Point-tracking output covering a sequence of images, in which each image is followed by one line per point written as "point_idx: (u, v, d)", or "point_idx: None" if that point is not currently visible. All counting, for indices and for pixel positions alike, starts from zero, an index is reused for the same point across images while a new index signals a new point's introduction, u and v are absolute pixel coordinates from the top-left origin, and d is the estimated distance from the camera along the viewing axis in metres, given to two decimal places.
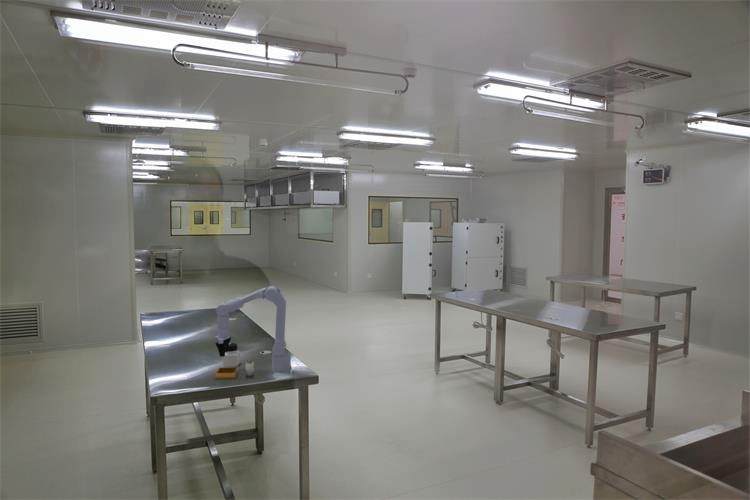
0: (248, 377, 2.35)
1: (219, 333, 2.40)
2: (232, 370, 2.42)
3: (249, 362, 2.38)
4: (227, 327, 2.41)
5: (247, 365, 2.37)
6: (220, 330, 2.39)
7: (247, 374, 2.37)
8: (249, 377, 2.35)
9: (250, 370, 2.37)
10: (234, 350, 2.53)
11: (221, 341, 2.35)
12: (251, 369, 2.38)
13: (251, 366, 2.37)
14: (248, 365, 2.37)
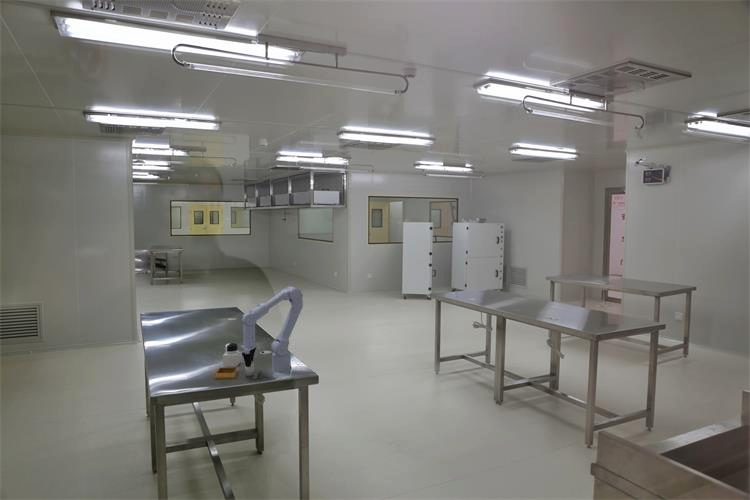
0: (248, 377, 2.35)
1: (245, 343, 2.35)
2: (232, 370, 2.42)
3: None
4: (254, 336, 2.38)
5: None
6: (246, 340, 2.35)
7: (247, 374, 2.37)
8: (249, 377, 2.35)
9: (250, 370, 2.37)
10: (234, 350, 2.53)
11: (248, 351, 2.31)
12: (251, 369, 2.38)
13: (251, 366, 2.37)
14: None
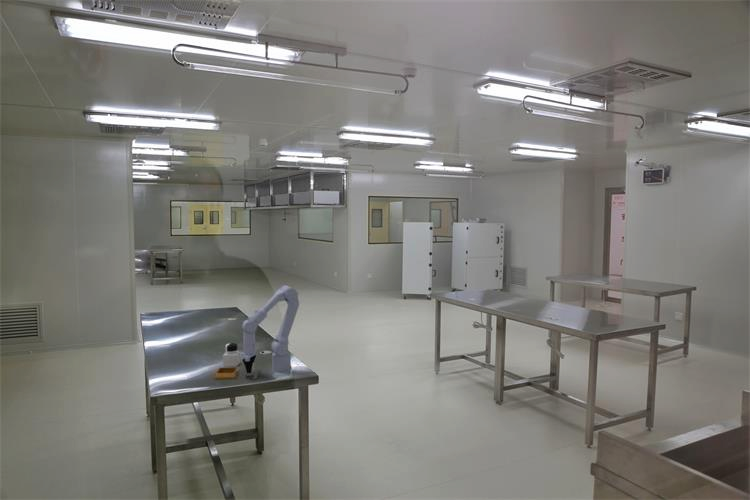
0: (248, 377, 2.35)
1: (245, 350, 2.36)
2: (232, 370, 2.42)
3: None
4: (254, 343, 2.38)
5: None
6: (246, 347, 2.35)
7: (247, 374, 2.37)
8: (249, 377, 2.35)
9: None
10: (234, 350, 2.53)
11: (248, 359, 2.31)
12: None
13: None
14: None
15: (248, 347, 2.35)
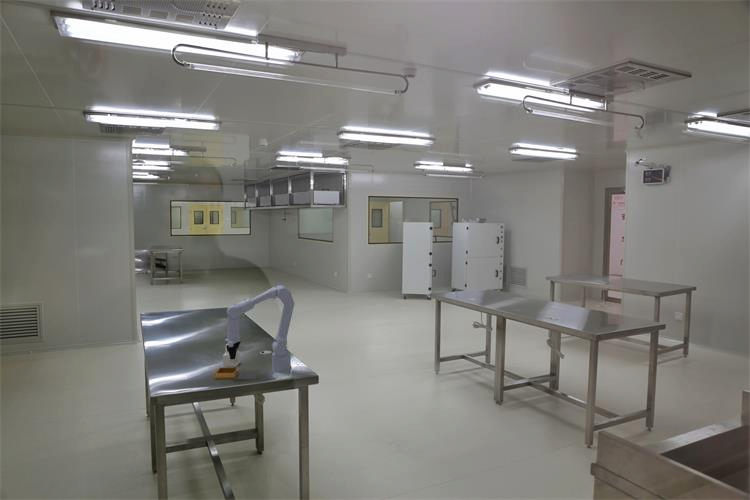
0: (248, 377, 2.35)
1: (229, 336, 2.34)
2: (232, 370, 2.42)
3: None
4: (238, 330, 2.36)
5: None
6: (230, 333, 2.34)
7: (231, 360, 2.36)
8: (249, 377, 2.35)
9: None
10: None
11: (231, 344, 2.30)
12: (236, 355, 2.36)
13: None
14: None
15: (232, 333, 2.34)
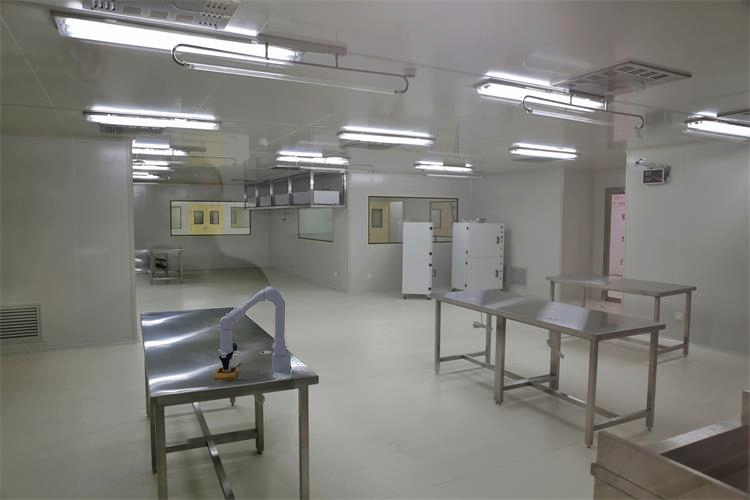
0: (248, 377, 2.35)
1: (222, 347, 2.34)
2: (232, 370, 2.42)
3: None
4: (231, 340, 2.36)
5: None
6: (223, 344, 2.34)
7: (224, 371, 2.36)
8: (249, 377, 2.35)
9: None
10: (234, 350, 2.53)
11: (224, 355, 2.30)
12: (229, 366, 2.36)
13: None
14: None
15: (225, 344, 2.34)
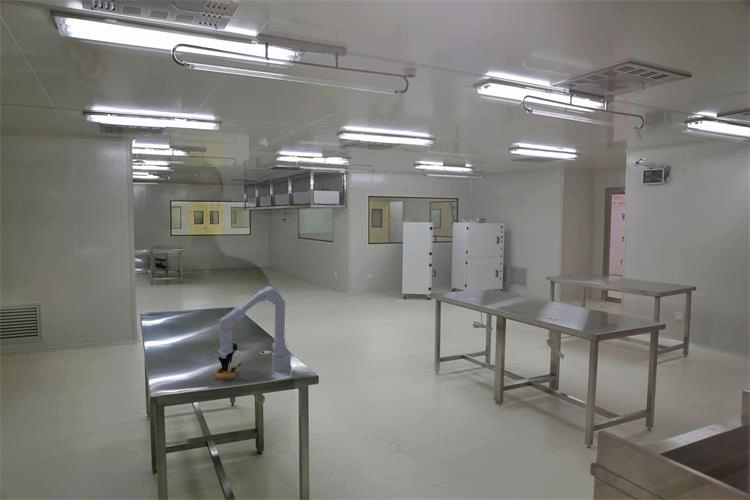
0: (248, 377, 2.35)
1: (222, 347, 2.34)
2: (232, 370, 2.42)
3: None
4: (231, 341, 2.36)
5: None
6: (223, 344, 2.34)
7: None
8: (249, 377, 2.35)
9: (227, 371, 2.36)
10: (234, 350, 2.53)
11: (224, 356, 2.30)
12: (229, 370, 2.36)
13: (228, 367, 2.36)
14: None
15: (225, 344, 2.34)
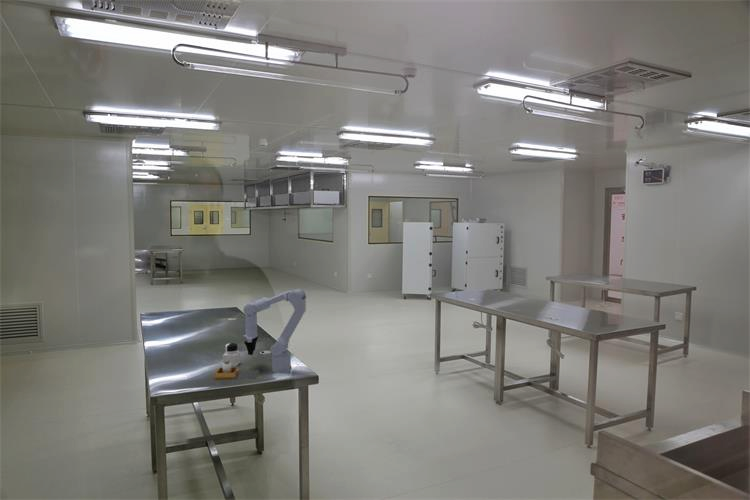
0: (248, 377, 2.35)
1: (247, 332, 2.45)
2: (232, 370, 2.42)
3: (226, 363, 2.36)
4: (254, 326, 2.45)
5: (224, 366, 2.36)
6: (248, 329, 2.44)
7: None
8: (249, 377, 2.35)
9: (227, 371, 2.36)
10: (234, 350, 2.53)
11: (250, 340, 2.40)
12: (229, 370, 2.36)
13: (228, 367, 2.36)
14: (225, 366, 2.36)
15: (250, 329, 2.44)
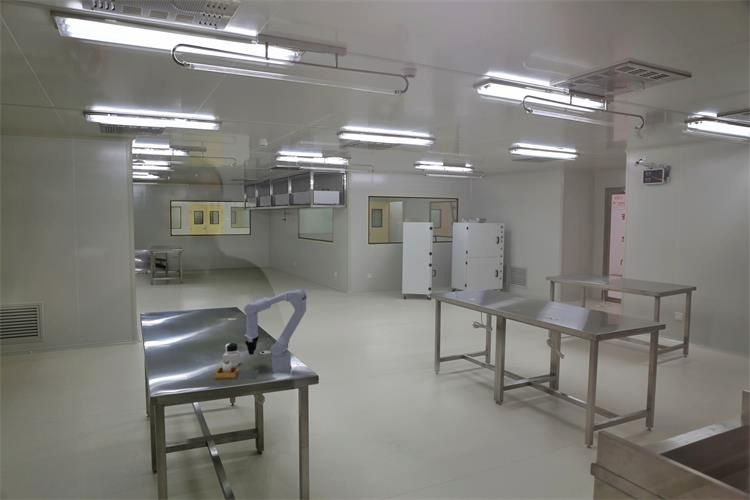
0: (248, 377, 2.35)
1: (248, 332, 2.45)
2: (232, 370, 2.42)
3: (226, 363, 2.36)
4: (255, 326, 2.46)
5: (224, 366, 2.36)
6: (249, 329, 2.45)
7: None
8: (249, 377, 2.35)
9: (227, 371, 2.36)
10: (234, 350, 2.53)
11: (251, 339, 2.41)
12: (229, 370, 2.36)
13: (228, 367, 2.36)
14: (225, 366, 2.36)
15: (251, 329, 2.45)
